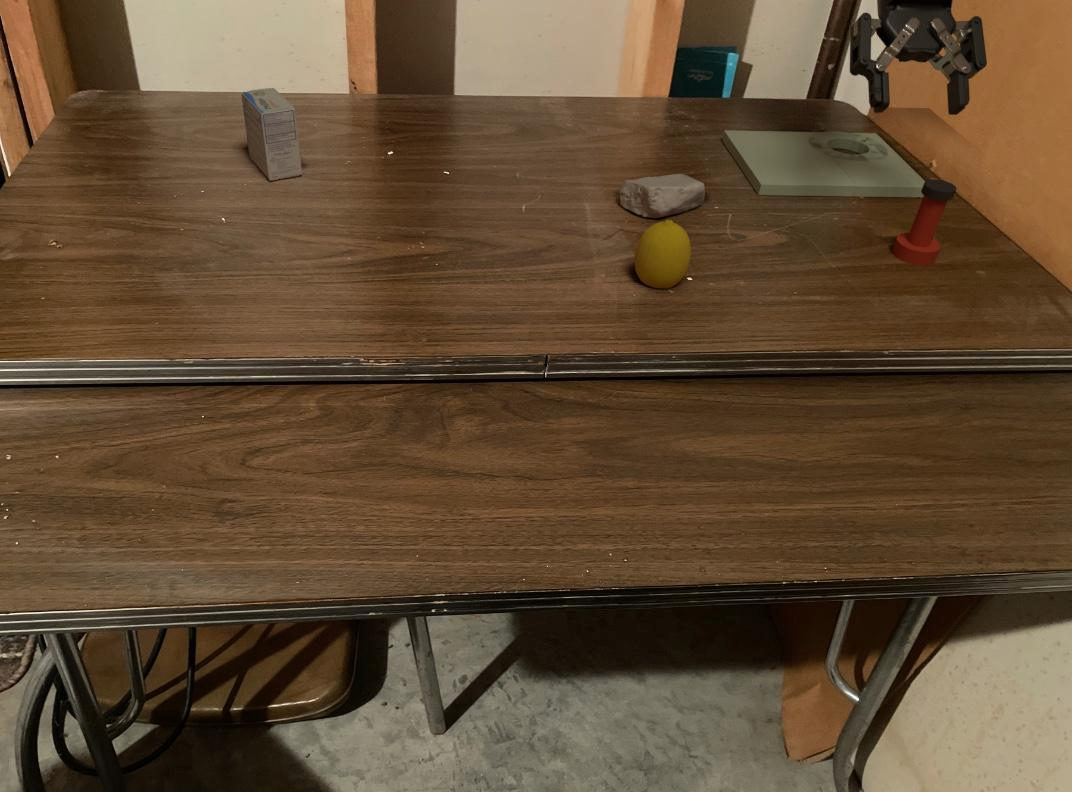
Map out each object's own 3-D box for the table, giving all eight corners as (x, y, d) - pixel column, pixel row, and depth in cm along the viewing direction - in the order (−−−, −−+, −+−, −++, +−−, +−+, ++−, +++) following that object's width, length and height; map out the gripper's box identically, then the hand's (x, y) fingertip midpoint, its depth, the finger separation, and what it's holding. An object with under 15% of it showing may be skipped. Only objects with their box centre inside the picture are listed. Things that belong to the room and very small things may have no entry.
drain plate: (872, 142, 131) (875, 132, 130) (926, 198, 117) (931, 186, 116) (721, 139, 129) (723, 129, 128) (758, 195, 115) (761, 184, 114)
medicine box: (303, 176, 114) (297, 107, 109) (268, 182, 113) (260, 112, 107) (281, 153, 120) (275, 86, 114) (248, 159, 118) (240, 90, 112)
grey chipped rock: (677, 222, 116) (689, 176, 114) (708, 230, 111) (722, 181, 109) (613, 209, 112) (625, 160, 110) (642, 217, 106) (656, 165, 105)
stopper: (920, 256, 104) (951, 176, 98) (938, 276, 101) (971, 195, 95) (881, 256, 104) (910, 176, 98) (897, 276, 100) (928, 194, 94)
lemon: (619, 283, 97) (630, 213, 92) (663, 274, 99) (676, 204, 94) (648, 309, 93) (661, 237, 88) (693, 298, 95) (708, 228, 90)
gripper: (867, -54, 97) (873, 93, 96) (995, -49, 98) (1004, 96, 97) (835, -12, 105) (840, 124, 103) (955, -8, 106) (962, 127, 104)
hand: (919, 110), depth 100 cm, fingers open, 8 cm apart
